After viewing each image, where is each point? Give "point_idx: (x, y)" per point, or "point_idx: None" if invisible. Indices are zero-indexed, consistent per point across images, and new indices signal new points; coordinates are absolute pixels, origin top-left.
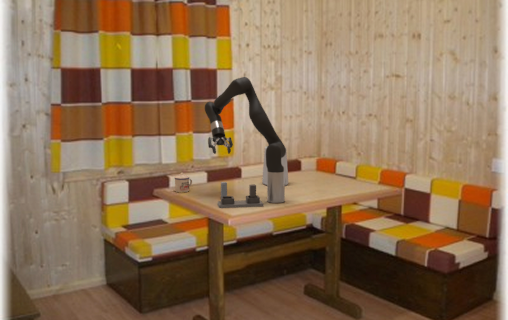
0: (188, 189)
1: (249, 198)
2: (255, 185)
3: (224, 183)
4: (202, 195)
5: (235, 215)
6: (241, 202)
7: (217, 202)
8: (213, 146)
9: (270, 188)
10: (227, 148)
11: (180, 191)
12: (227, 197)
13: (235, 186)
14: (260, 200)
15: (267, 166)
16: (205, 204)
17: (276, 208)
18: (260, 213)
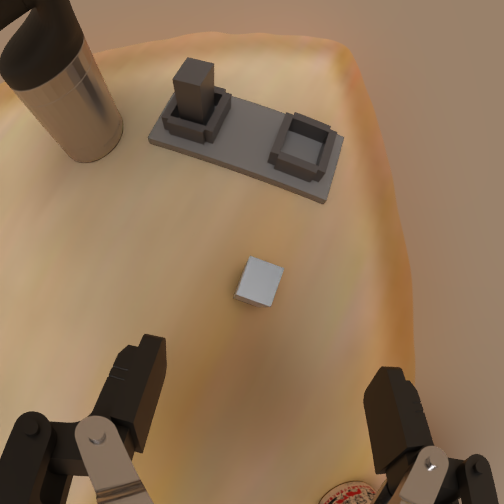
0: (332, 495)
1: (225, 90)
2: (187, 60)
3: (264, 262)
4: (310, 404)
5: (323, 52)
6: (243, 131)
7: (325, 200)
8: (434, 446)
9: (106, 87)
10: (141, 440)
11: (366, 484)
12: (295, 159)
13: (88, 490)
14: (154, 127)
15: (75, 28)
16: (368, 223)
17: (162, 56)
18: (244, 34)
